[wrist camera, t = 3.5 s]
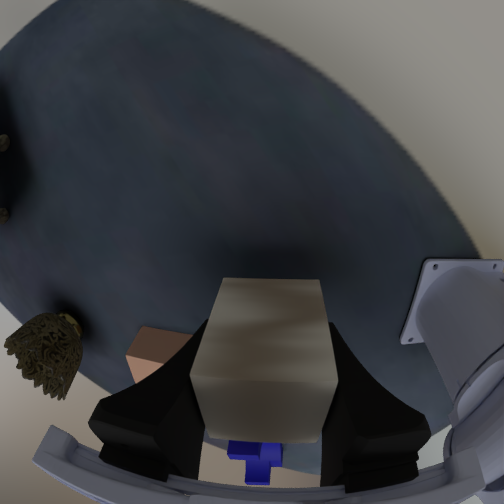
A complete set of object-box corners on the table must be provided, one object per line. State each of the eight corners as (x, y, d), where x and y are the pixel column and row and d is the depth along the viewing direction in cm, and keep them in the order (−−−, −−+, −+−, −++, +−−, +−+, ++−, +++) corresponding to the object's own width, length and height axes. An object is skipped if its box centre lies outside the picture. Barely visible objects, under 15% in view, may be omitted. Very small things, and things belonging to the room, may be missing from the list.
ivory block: (319, 279, 13) (338, 381, 7) (310, 348, 15) (316, 442, 9) (223, 277, 13) (189, 374, 8) (230, 345, 15) (209, 437, 10)
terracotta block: (245, 339, 22) (239, 376, 18) (241, 398, 26) (236, 430, 22) (143, 323, 23) (125, 354, 19) (159, 384, 26) (147, 412, 23)
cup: (39, 285, 22) (-8, 330, 15) (90, 297, 22) (40, 355, 14) (60, 338, 25) (25, 385, 18) (109, 354, 25) (76, 411, 18)
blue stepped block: (282, 448, 31) (281, 485, 26) (250, 449, 32) (246, 484, 26) (276, 407, 26) (273, 455, 21) (234, 407, 27) (226, 454, 21)
